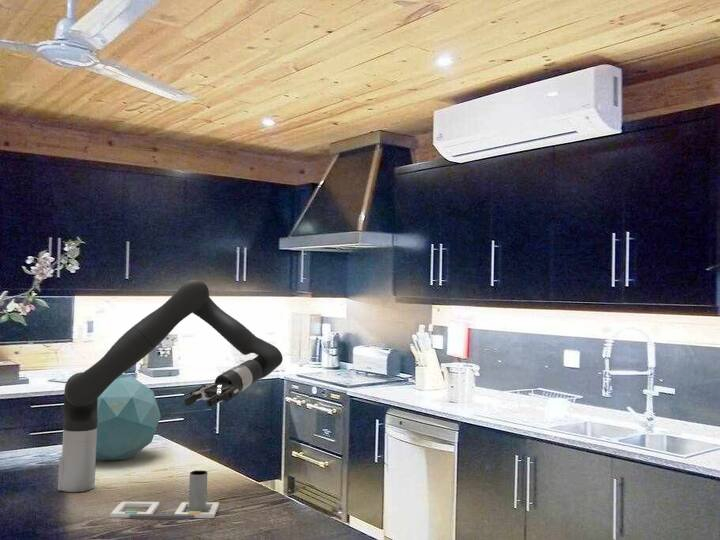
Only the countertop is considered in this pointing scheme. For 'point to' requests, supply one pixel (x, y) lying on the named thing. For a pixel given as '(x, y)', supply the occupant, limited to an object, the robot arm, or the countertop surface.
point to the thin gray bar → (161, 517)
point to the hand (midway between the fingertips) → (196, 403)
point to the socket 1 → (119, 514)
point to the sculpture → (125, 419)
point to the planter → (198, 491)
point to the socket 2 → (198, 514)
